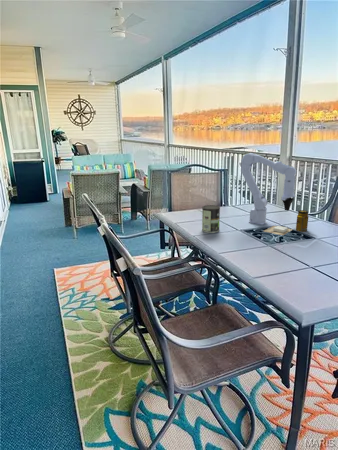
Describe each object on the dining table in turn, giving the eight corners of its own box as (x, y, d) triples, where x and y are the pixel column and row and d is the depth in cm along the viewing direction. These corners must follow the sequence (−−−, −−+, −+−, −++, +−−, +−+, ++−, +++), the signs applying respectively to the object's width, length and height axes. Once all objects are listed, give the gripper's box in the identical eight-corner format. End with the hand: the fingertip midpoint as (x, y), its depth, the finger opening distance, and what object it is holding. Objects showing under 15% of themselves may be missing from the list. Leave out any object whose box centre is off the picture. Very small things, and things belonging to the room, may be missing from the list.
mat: (262, 232, 184) (262, 231, 184) (273, 226, 194) (273, 225, 194) (282, 236, 176) (282, 235, 176) (292, 230, 186) (293, 229, 186)
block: (277, 228, 188) (273, 231, 184) (277, 225, 187) (273, 228, 183) (287, 230, 184) (283, 233, 180) (288, 227, 184) (283, 230, 179)
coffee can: (219, 228, 193) (220, 205, 189) (218, 233, 183) (219, 209, 179) (202, 227, 195) (203, 204, 191) (200, 232, 185) (201, 208, 181)
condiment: (292, 229, 187) (294, 210, 184) (305, 228, 189) (307, 209, 186) (299, 233, 181) (301, 213, 177) (313, 232, 182) (315, 212, 179)
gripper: (290, 190, 180) (288, 213, 184) (300, 186, 191) (298, 208, 195) (278, 188, 185) (276, 211, 189) (288, 185, 195) (286, 207, 199)
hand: (286, 210), depth 192 cm, fingers closed
